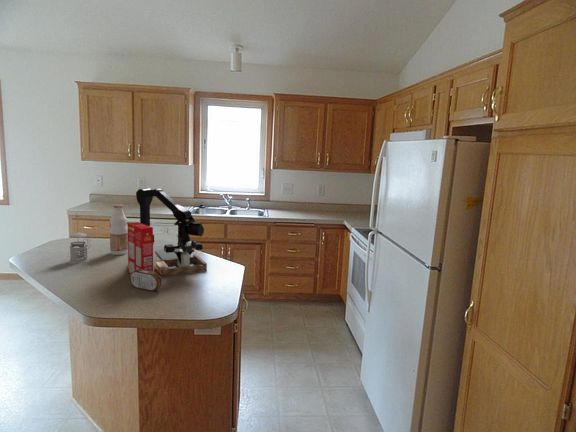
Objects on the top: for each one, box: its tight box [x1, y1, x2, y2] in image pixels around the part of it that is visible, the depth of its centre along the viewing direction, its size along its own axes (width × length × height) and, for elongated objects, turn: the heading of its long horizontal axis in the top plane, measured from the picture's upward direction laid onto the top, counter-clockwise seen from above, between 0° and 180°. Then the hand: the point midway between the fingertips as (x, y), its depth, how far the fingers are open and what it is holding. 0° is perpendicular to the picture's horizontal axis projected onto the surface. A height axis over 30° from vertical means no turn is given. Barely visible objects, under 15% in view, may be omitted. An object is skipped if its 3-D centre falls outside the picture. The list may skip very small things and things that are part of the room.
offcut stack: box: [155, 261, 169, 275], centre depth 191 cm, size 4×13×4 cm, turn 30°
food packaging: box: [126, 221, 154, 275], centre depth 179 cm, size 15×5×25 cm, turn 47°
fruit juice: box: [109, 204, 128, 256], centre depth 215 cm, size 9×9×28 cm
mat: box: [155, 249, 177, 260], centre depth 219 cm, size 14×18×1 cm
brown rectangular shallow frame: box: [155, 254, 208, 277], centre depth 196 cm, size 22×18×4 cm
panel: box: [177, 249, 191, 268], centre depth 196 cm, size 3×12×9 cm, turn 31°
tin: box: [129, 269, 163, 292], centre depth 165 cm, size 15×3×8 cm, turn 71°
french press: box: [68, 214, 91, 265], centre depth 198 cm, size 10×12×25 cm
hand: (183, 263), depth 196 cm, fingers closed on panel, 3 cm apart
